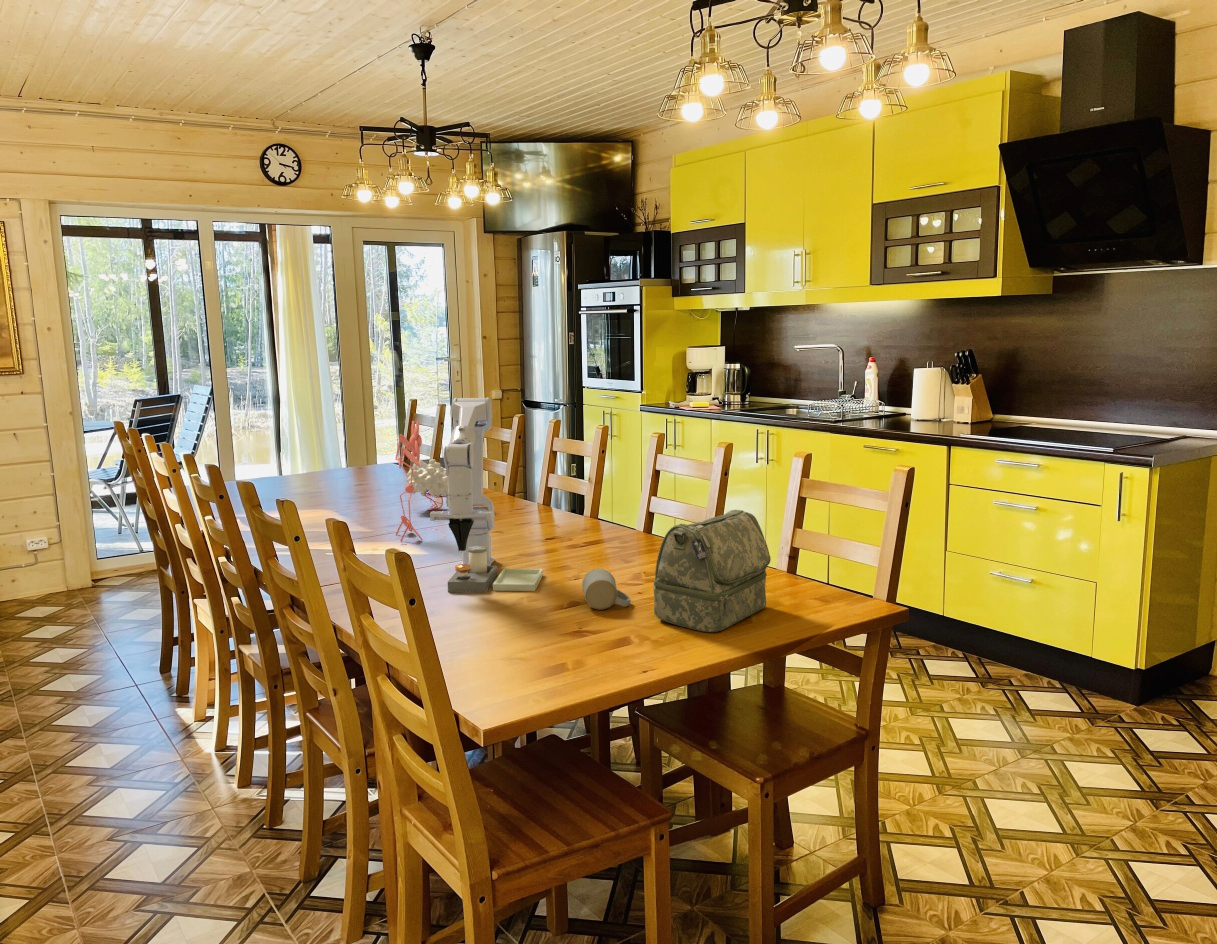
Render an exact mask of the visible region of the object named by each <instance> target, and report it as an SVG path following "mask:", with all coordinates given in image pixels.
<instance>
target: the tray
mask: <svg viewBox="0 0 1217 944" xmlns="http://www.w3.org/2000/svg"><path fill="white" fill-rule="evenodd" d="M543 571H544V570H543V568H503V569H502V570H501V571H500V573H499V575H497V577H496V578H495V579H494V581H493V582H492V591H495V592H497V591H498V592H500V591H501V592H504V591H505V592H507V591H508V592H513V591H514V592H535V591H536V590H537V587H538V586H539V583H540V581H541V579H542V577H543V576H544V574H543V573H544V572H543Z"/></svg>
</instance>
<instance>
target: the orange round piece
mask: <svg viewBox="0 0 1217 944" xmlns="http://www.w3.org/2000/svg"><path fill="white" fill-rule="evenodd" d="M454 569H455V571H456V572H457V571H458V572H459V580H468V571H470V570H471V565H469V564H461V563H460V564H456V565H455V567H454Z"/></svg>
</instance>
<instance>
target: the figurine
mask: <svg viewBox="0 0 1217 944" xmlns="http://www.w3.org/2000/svg"><path fill="white" fill-rule="evenodd" d="M410 428H411V429H410V432H411V433H410V434H411V436H410V438H409V440H408V439H407V437H405V436H404V435H403V434H402V433H401V434H399V439H398V443H397V450H396V454H395V461H398V468H399V469H402V464H403V465H405V466H406V467H408V468H409V469H410V468H411V469H412V472H411V484H409V483H408V484H407V485H406V486H405V487H404V492H402V493H401V494H399V499H400V504H401V508H402V515H401V516H400V519H401V522H400V524H399V525H398V528H397V530H396V533H395V535H396V536H398V534H399V532H400V529H401V528H402V526H403V525H404V526H405V530H404V532H403V534H402V536H401V538H400V540H399V541H400V542H403V540H404V538H405V536H406V534H407V532H408V530H409V531H410V532H411V533H412V532H413V533H415V535H416V536H417V537H418V538H419V539H420V540H421V541H423V539H422V537H421V536H420V534H419V533H418V531H417V530H416V528H414V526H413V524H412V521H411V504H410V503H411V502H410V500H411V497H412V495H413V494H412V492H413V491H414V486H413V485H412V478H413V470H414V469H413V466H411V465H410V464H408V463H406V462H405V461H403V457H404V456H406V457H407V459H409V460H410V461H411V462H412V463H413V464H416V465H417V466H419V467H421V466H420V464H419V460H421V459H420V457H421V453H420V452H421V451H420V448H421V446H422V442H423V439H422V436H421V435H420V422H419V421H417V422H416V423H415V421H414V420H412V421H411V427H410ZM401 444H403V446H402V447H401ZM400 450H401V452H400ZM399 452H400V457H399V458H398V456H399ZM404 494H409V497H408V500H407V501H408V503H407V504H408V517H409V518H408V517H407V516H406V514H405V509H404V505H403V500H402V496H403V495H404ZM423 530H425V528H423ZM429 530H430V531H432V530H433V531H436V532H440V533H443V534H444V531H443V532H442V531H441V530H439V529H432V528H429ZM395 535H394V536H395ZM400 545H401V546H403V545H405V546H407V545H408V544H407V543H401V544H400Z"/></svg>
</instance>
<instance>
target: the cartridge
mask: <svg viewBox="0 0 1217 944" xmlns="http://www.w3.org/2000/svg"><path fill="white" fill-rule="evenodd" d="M486 551H487V547H485V546H473V547H469V548H468V552H469V565H471V570H470V571H469V573H487V553H486Z"/></svg>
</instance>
